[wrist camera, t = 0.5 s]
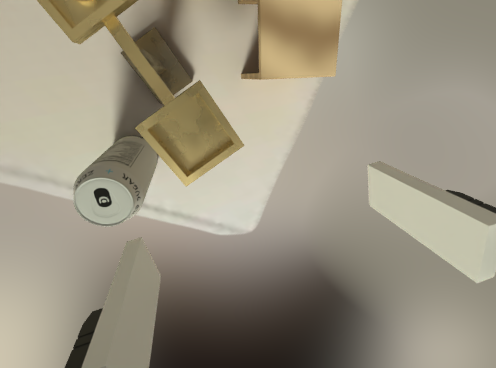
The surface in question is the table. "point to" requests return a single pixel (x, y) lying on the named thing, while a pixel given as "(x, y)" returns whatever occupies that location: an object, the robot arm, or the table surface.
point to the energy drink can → (116, 182)
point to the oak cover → (296, 38)
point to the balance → (158, 89)
